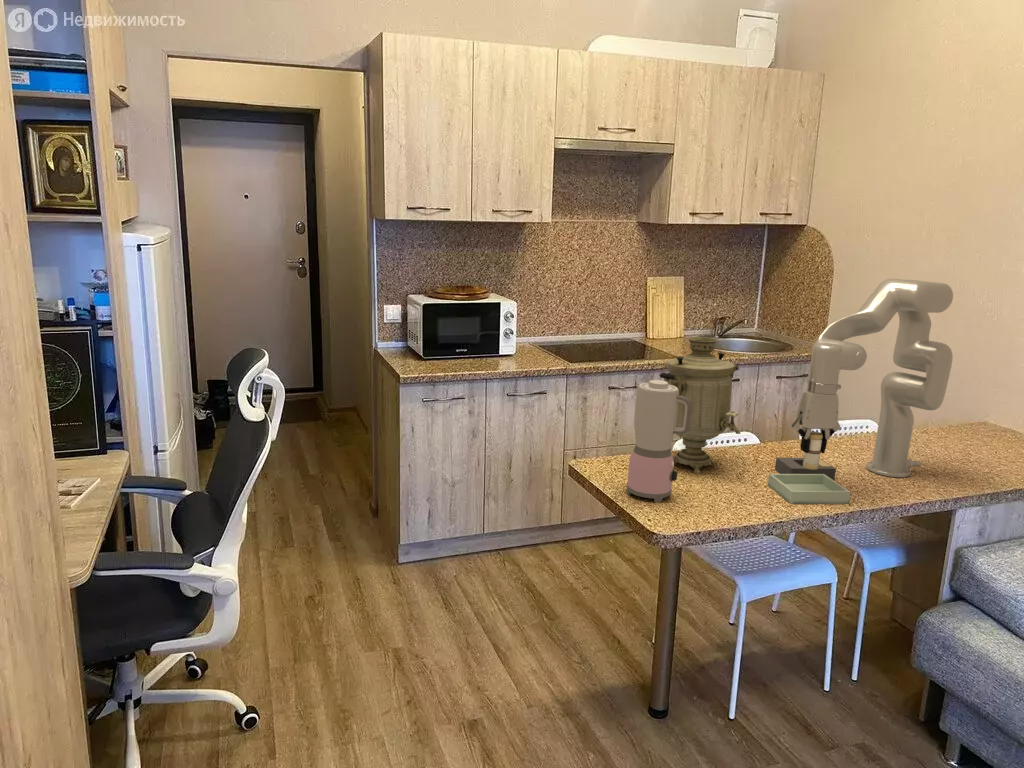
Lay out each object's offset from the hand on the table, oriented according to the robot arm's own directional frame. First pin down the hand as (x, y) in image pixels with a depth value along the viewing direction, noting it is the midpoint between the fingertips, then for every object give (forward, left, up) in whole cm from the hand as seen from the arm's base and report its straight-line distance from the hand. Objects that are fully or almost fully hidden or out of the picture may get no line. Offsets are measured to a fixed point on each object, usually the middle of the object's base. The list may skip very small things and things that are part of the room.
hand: (812, 451), depth 206 cm
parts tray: (0, 0, -13) cm, 13 cm away
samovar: (+25, -21, -13) cm, 35 cm away
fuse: (0, 0, -5) cm, 5 cm away
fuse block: (-7, -15, -13) cm, 21 cm away
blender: (+45, +1, -13) cm, 47 cm away
